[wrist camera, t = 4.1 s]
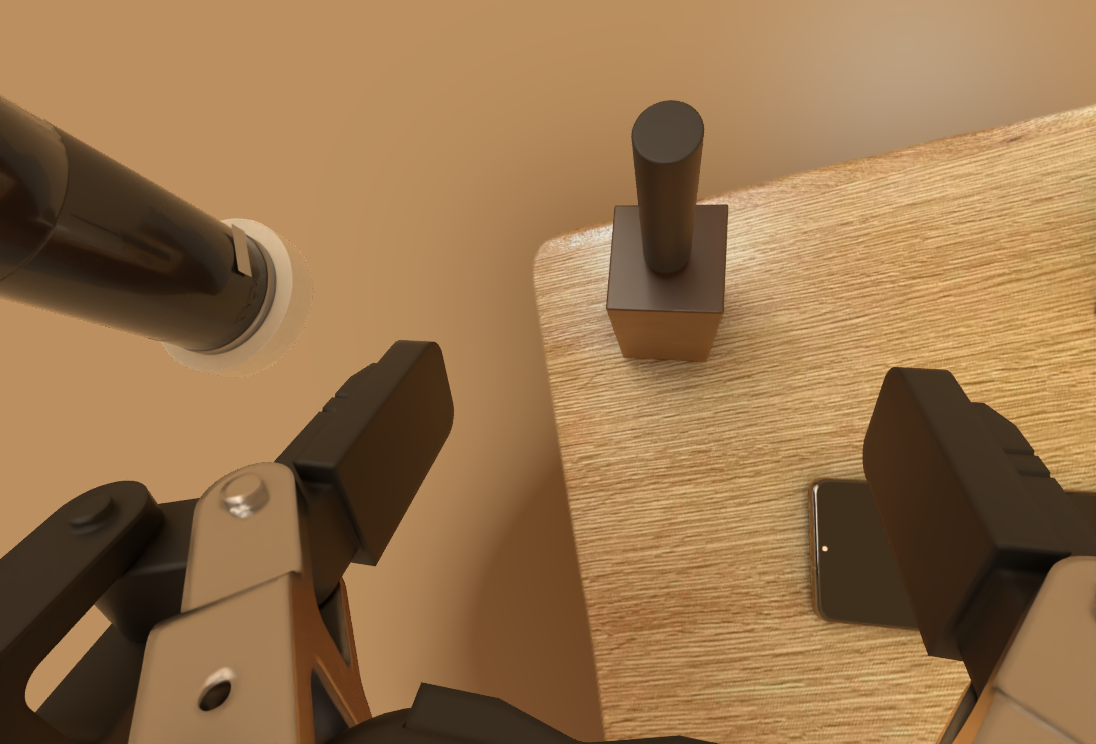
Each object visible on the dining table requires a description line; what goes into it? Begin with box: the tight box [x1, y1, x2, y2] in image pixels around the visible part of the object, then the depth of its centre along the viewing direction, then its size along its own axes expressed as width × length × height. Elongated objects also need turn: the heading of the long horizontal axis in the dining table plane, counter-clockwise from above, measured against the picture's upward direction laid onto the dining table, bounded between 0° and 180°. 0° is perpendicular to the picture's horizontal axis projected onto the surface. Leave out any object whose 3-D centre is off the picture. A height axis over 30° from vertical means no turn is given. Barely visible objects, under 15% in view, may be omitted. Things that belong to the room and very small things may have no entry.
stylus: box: [631, 100, 704, 273], centre depth 19 cm, size 2×2×9 cm
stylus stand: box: [606, 205, 728, 362], centre depth 29 cm, size 5×5×10 cm
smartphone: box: [808, 478, 1096, 631], centre depth 27 cm, size 7×1×16 cm
